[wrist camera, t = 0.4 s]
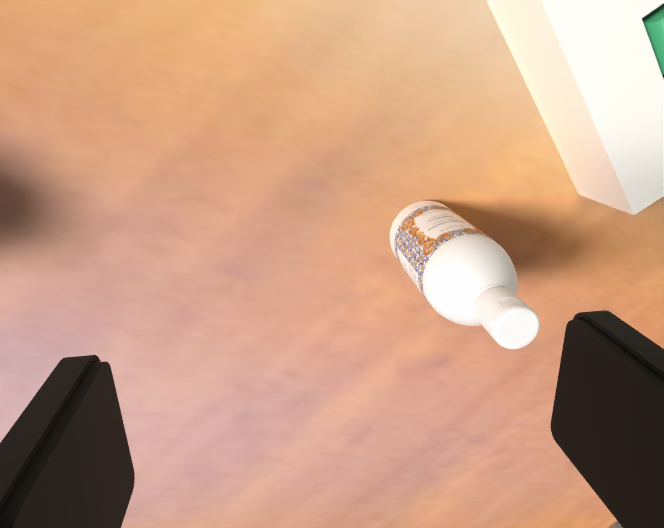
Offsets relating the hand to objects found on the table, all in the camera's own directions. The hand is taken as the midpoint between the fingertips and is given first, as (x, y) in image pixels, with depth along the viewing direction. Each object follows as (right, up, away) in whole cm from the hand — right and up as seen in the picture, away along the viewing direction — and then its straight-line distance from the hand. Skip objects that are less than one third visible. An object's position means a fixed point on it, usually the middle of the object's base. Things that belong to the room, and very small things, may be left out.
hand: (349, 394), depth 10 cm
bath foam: (+9, +6, +39) cm, 40 cm away
